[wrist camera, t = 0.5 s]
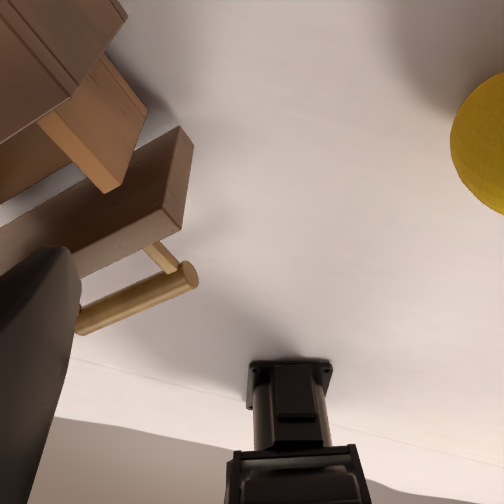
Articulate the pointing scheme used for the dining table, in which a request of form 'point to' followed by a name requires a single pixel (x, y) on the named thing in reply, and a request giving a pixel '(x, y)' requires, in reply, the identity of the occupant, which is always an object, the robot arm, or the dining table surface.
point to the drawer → (102, 193)
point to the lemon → (481, 142)
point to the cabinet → (49, 54)
